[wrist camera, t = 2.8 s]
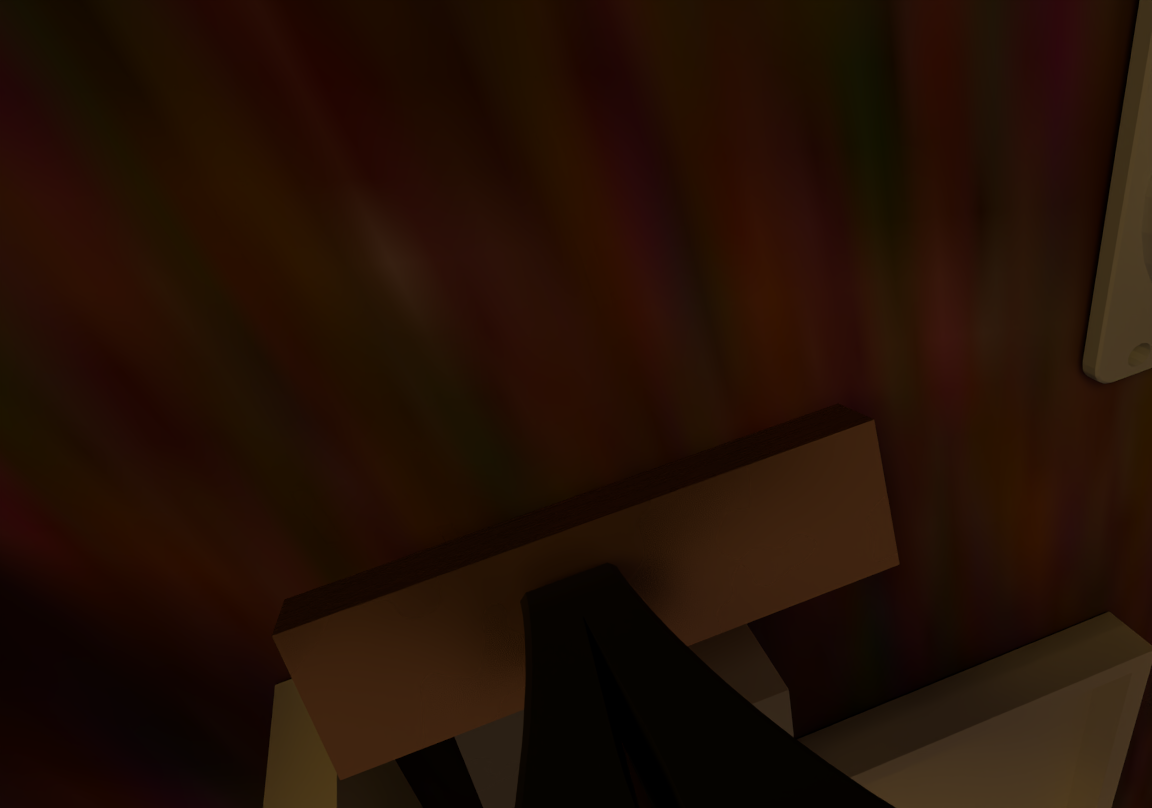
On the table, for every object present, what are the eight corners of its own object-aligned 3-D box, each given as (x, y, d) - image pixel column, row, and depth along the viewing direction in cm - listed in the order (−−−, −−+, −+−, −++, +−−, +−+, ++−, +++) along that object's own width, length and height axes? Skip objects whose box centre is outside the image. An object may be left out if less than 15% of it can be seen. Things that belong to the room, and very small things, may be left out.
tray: (1109, 611, 21) (1156, 649, 19) (1064, 810, 26) (1099, 849, 25) (777, 747, 19) (806, 796, 18) (801, 927, 25) (824, 974, 23)
